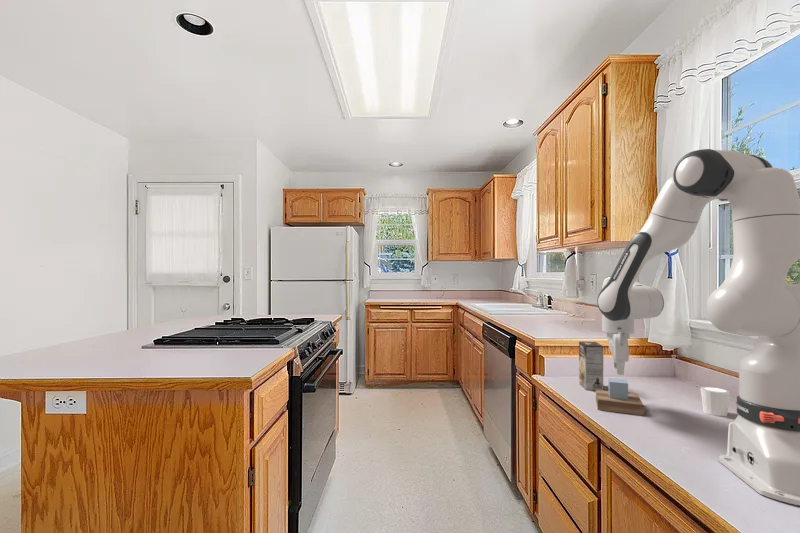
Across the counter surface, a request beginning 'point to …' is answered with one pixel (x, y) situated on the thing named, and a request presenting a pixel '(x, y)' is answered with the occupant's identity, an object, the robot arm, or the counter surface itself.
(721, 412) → the white cup
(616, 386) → the slate block
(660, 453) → the counter surface
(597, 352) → the coffee box
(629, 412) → the walnut plinth
